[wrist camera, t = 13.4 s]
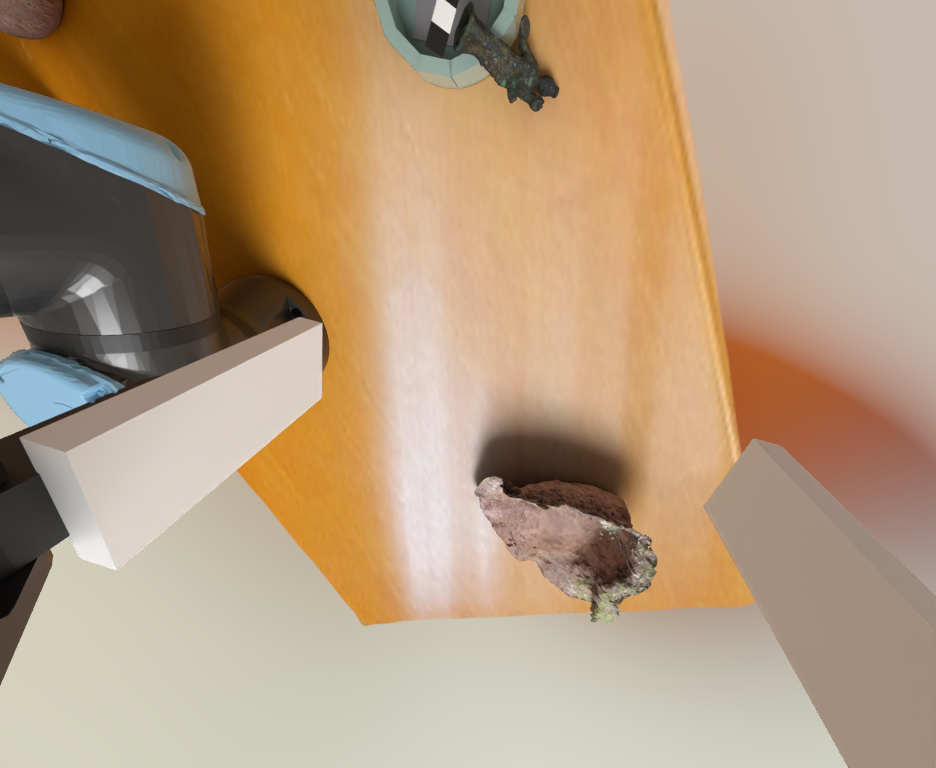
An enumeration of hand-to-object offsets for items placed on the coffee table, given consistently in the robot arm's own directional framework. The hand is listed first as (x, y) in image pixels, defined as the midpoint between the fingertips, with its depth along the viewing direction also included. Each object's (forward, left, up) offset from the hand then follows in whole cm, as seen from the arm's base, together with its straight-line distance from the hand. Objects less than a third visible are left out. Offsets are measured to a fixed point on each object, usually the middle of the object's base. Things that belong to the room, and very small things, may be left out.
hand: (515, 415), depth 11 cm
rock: (+13, -29, -30) cm, 43 cm away
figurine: (-12, +16, -21) cm, 29 cm away
